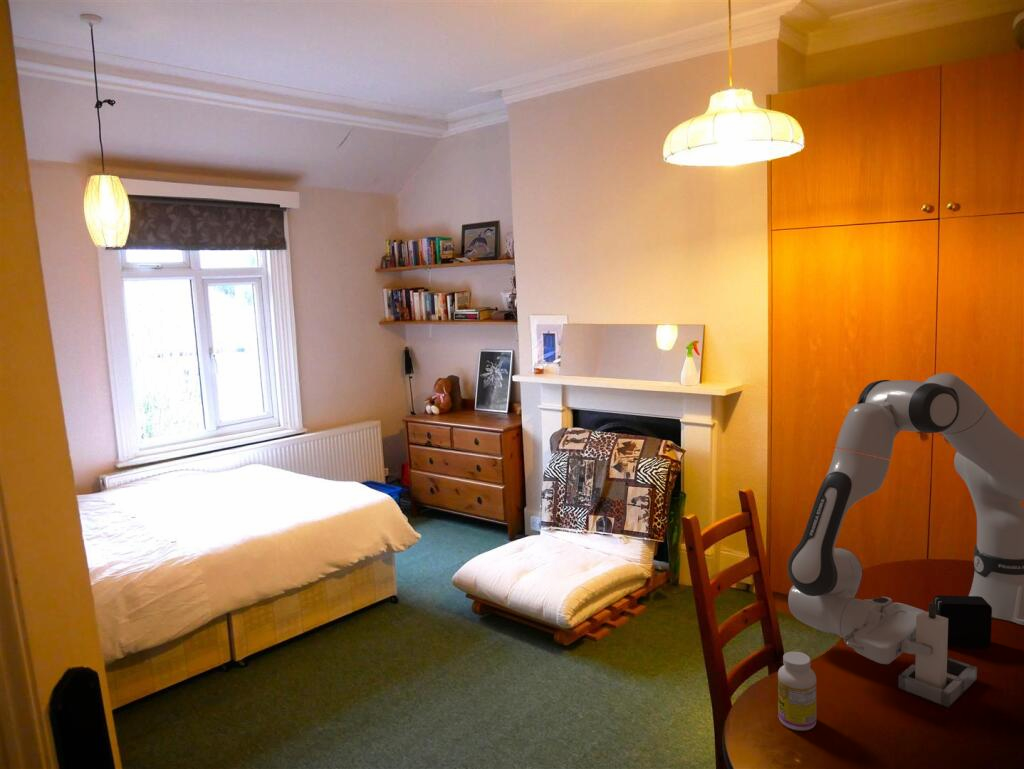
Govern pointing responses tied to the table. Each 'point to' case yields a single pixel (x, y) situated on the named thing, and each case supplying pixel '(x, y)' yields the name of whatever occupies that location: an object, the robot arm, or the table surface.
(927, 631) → the plug
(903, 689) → the socket box
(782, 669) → the supplement bottle
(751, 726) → the table surface
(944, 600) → the electronic device
